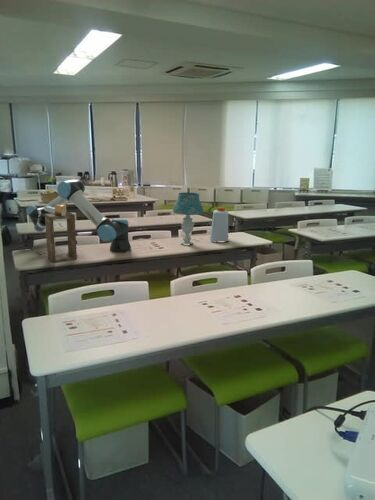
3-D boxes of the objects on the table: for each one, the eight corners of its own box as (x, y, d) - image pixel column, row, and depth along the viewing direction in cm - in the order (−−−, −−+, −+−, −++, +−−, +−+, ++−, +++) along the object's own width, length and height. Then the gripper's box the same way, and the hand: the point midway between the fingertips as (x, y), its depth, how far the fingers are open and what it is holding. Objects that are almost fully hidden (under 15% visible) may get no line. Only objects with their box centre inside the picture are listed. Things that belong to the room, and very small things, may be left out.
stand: (71, 254, 254) (69, 212, 246) (76, 258, 246) (74, 214, 238) (47, 258, 245) (44, 214, 236) (52, 262, 237) (49, 216, 229)
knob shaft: (51, 209, 251) (51, 201, 249) (68, 214, 236) (68, 205, 235) (41, 211, 246) (41, 202, 244) (58, 216, 231) (58, 206, 230)
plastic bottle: (209, 242, 301) (211, 208, 293) (210, 238, 315) (212, 205, 308) (228, 243, 300) (230, 209, 292) (228, 239, 314) (230, 206, 306)
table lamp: (207, 245, 291) (210, 195, 279) (182, 249, 278) (184, 196, 267) (190, 238, 310) (192, 191, 298) (166, 242, 297) (167, 192, 285)
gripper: (61, 224, 274) (69, 214, 257) (26, 228, 259) (32, 217, 242) (59, 215, 275) (67, 204, 258) (24, 218, 260) (30, 207, 243)
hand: (50, 210), depth 250 cm, fingers open, 13 cm apart
